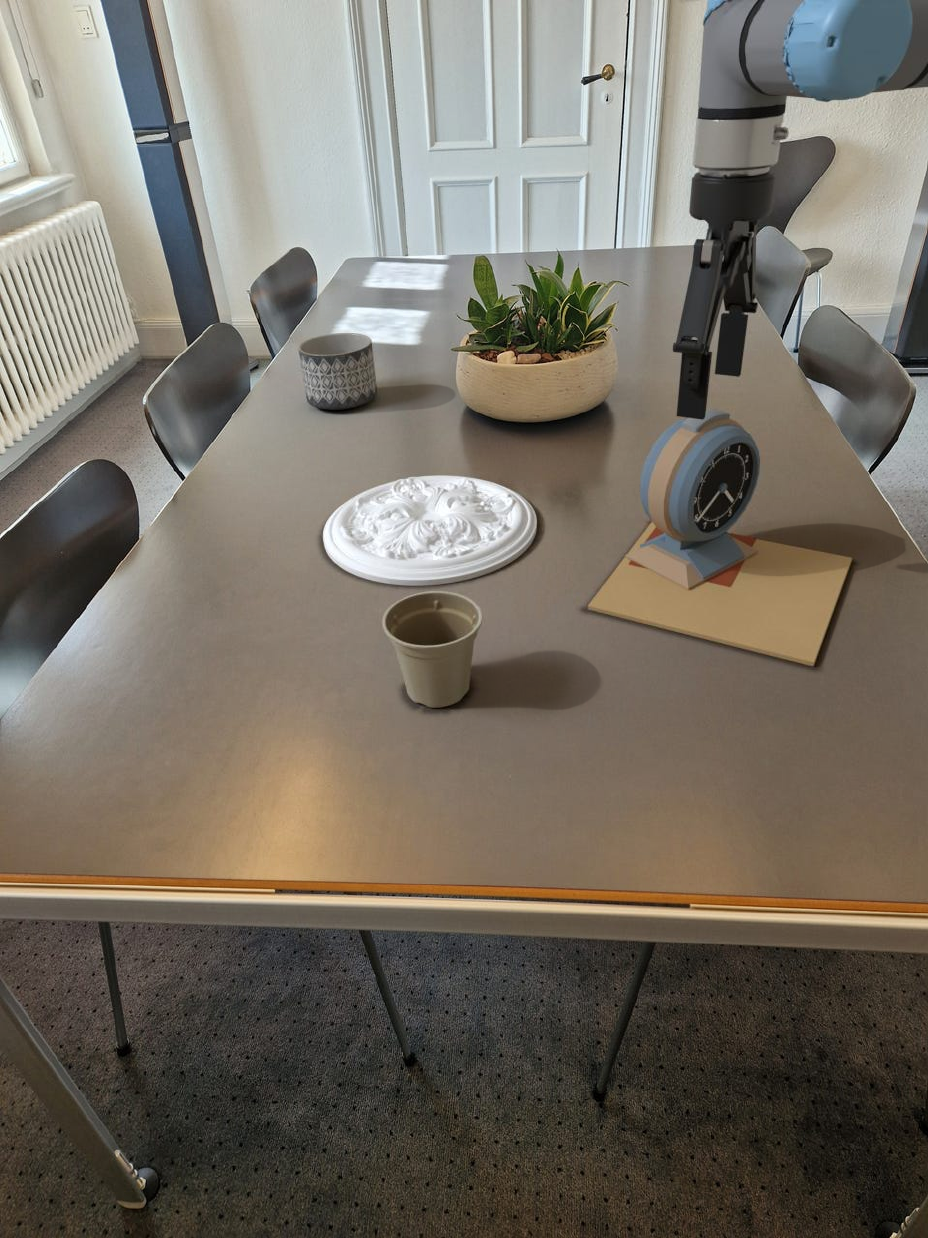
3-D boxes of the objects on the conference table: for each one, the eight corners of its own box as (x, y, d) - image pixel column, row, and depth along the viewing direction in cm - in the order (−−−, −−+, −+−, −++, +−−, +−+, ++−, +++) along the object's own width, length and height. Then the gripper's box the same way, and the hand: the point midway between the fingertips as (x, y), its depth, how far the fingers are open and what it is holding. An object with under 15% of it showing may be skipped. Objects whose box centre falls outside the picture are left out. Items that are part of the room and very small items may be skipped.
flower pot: (446, 648, 90) (440, 579, 85) (505, 689, 84) (503, 617, 79) (373, 687, 85) (362, 616, 80) (430, 734, 79) (422, 660, 74)
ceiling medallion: (280, 559, 107) (276, 537, 105) (391, 470, 127) (389, 450, 126) (480, 605, 96) (479, 581, 95) (567, 499, 117) (568, 478, 115)
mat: (851, 562, 99) (852, 556, 99) (813, 666, 84) (814, 661, 84) (653, 522, 110) (654, 517, 109) (587, 609, 94) (587, 604, 94)
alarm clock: (681, 592, 95) (697, 444, 85) (619, 559, 101) (626, 418, 91) (763, 549, 101) (787, 407, 91) (699, 520, 108) (714, 385, 98)
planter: (374, 413, 147) (366, 353, 141) (301, 416, 148) (291, 356, 142) (381, 388, 157) (375, 331, 151) (314, 391, 158) (305, 334, 152)
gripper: (740, 192, 68) (712, 442, 80) (805, 152, 85) (774, 362, 97) (649, 190, 71) (635, 431, 83) (730, 152, 89) (708, 355, 100)
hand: (710, 394), depth 90 cm, fingers open, 13 cm apart
